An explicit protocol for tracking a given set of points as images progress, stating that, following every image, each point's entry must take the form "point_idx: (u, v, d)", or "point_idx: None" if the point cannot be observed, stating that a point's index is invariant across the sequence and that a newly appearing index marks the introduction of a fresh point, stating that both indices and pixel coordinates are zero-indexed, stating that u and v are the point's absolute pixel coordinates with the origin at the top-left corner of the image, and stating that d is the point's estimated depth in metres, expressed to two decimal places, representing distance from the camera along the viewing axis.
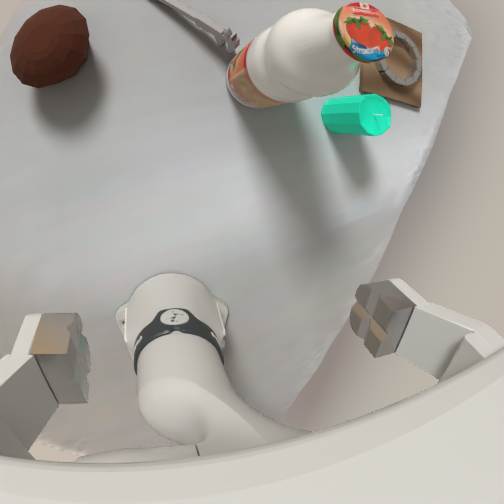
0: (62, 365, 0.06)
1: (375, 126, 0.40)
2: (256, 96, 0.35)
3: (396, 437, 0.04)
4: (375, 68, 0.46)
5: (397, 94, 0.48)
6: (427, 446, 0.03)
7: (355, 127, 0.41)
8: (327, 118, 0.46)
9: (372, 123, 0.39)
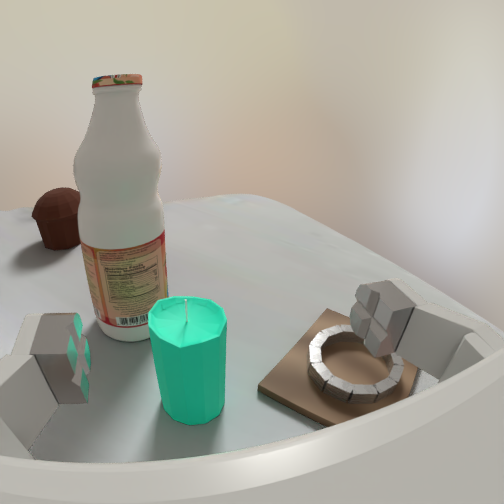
0: (62, 365, 0.06)
1: (175, 334, 0.22)
2: None
3: (396, 437, 0.04)
4: (303, 367, 0.32)
5: (334, 412, 0.27)
6: (427, 446, 0.03)
7: None
8: None
9: (173, 328, 0.23)
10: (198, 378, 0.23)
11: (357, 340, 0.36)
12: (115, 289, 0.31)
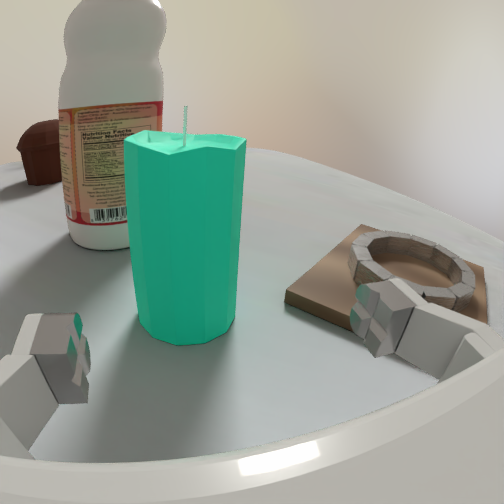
0: (62, 365, 0.06)
1: (164, 150, 0.14)
2: None
3: (395, 437, 0.04)
4: (347, 274, 0.23)
5: None
6: (427, 446, 0.03)
7: None
8: None
9: (162, 148, 0.14)
10: (196, 232, 0.14)
11: (407, 251, 0.27)
12: (92, 164, 0.22)
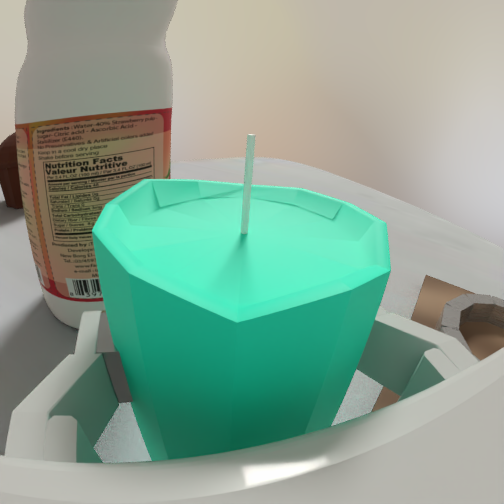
0: None
1: (206, 268, 0.05)
2: None
3: (395, 437, 0.04)
4: None
5: None
6: (427, 446, 0.03)
7: None
8: None
9: (196, 251, 0.06)
10: None
11: (487, 318, 0.18)
12: (64, 214, 0.14)
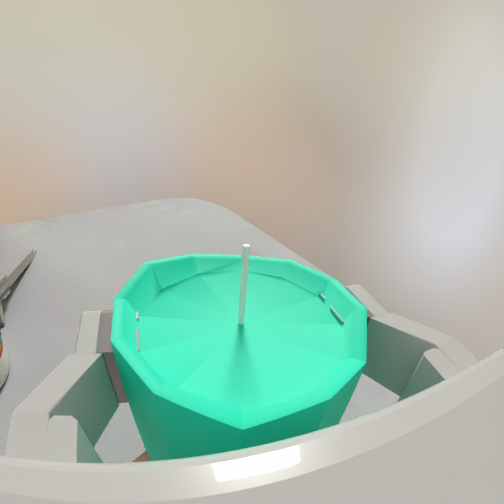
0: None
1: (212, 370, 0.06)
2: None
3: (395, 438, 0.04)
4: None
5: None
6: (427, 446, 0.03)
7: None
8: None
9: (201, 349, 0.07)
10: None
11: None
12: None
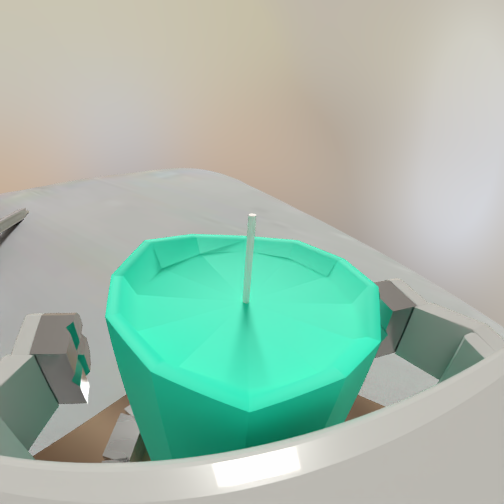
0: (62, 365, 0.06)
1: (216, 349, 0.06)
2: None
3: (396, 437, 0.04)
4: None
5: None
6: (427, 446, 0.03)
7: None
8: None
9: (203, 328, 0.06)
10: None
11: None
12: None
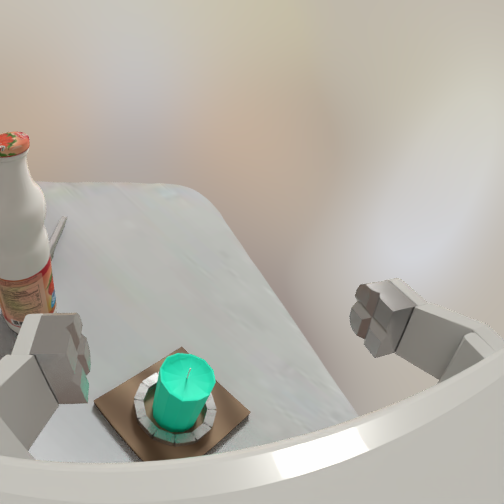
0: (62, 365, 0.06)
1: (179, 388, 0.31)
2: None
3: (395, 437, 0.04)
4: (133, 397, 0.37)
5: (138, 442, 0.33)
6: (427, 446, 0.03)
7: (158, 382, 0.32)
8: None
9: (177, 383, 0.31)
10: (188, 413, 0.32)
11: None
12: (8, 303, 0.33)
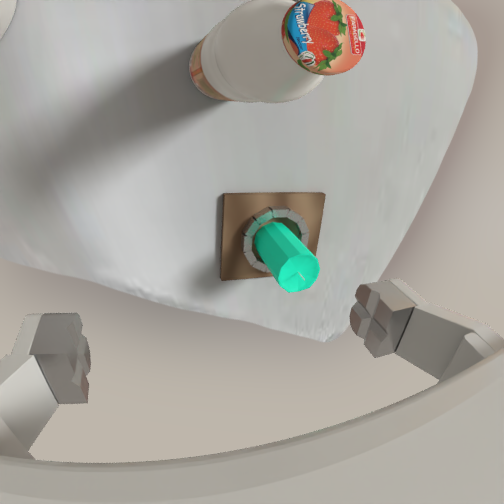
0: (62, 365, 0.06)
1: (286, 276, 0.42)
2: (205, 36, 0.28)
3: (395, 437, 0.04)
4: (255, 211, 0.48)
5: (230, 245, 0.49)
6: (427, 446, 0.03)
7: (280, 255, 0.42)
8: (271, 228, 0.48)
9: (289, 272, 0.42)
10: None
11: (298, 230, 0.51)
12: (204, 86, 0.32)
